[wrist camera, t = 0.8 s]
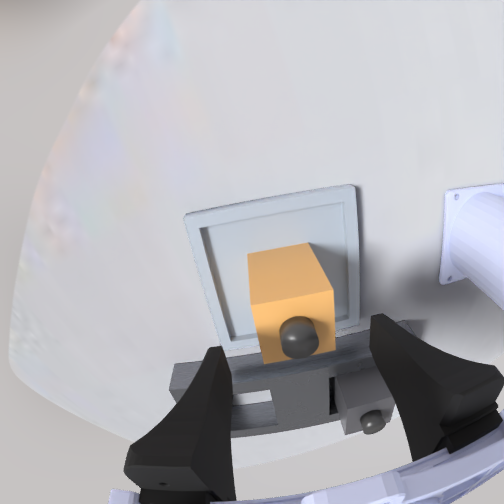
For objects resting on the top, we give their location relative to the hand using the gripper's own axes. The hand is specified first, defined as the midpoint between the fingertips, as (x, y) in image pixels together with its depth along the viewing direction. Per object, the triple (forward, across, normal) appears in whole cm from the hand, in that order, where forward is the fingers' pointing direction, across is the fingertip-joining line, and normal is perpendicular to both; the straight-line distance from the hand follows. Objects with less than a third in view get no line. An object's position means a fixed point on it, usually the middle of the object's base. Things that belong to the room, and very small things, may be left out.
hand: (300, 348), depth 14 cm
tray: (+8, 0, 0) cm, 8 cm away
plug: (+7, 0, 0) cm, 7 cm away
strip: (+8, 0, +11) cm, 13 cm away
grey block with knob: (+8, -5, +11) cm, 14 cm away
